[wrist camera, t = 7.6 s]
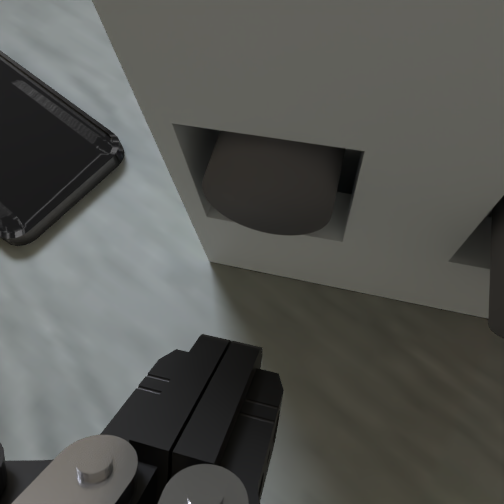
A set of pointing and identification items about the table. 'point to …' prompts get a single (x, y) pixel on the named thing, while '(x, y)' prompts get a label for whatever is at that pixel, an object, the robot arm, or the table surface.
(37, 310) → the table surface
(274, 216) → the button
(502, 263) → the button
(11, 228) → the phone
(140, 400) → the robot arm
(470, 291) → the console
